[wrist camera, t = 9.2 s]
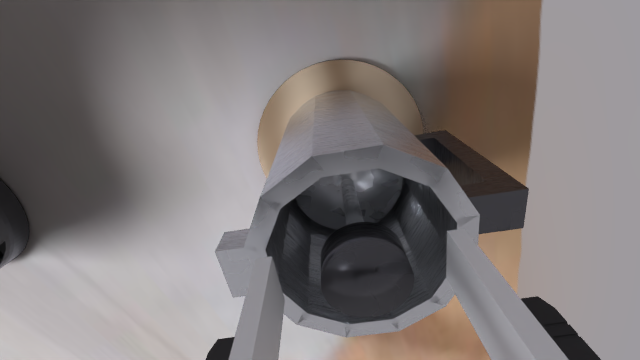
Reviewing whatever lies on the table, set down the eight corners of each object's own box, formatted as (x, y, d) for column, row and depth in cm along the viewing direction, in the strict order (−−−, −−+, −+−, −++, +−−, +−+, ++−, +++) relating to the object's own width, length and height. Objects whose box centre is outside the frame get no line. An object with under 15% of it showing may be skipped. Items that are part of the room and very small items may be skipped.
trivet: (278, 225, 33) (278, 228, 33) (238, 76, 27) (237, 77, 26) (423, 204, 32) (425, 207, 32) (419, 44, 26) (421, 44, 25)
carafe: (283, 207, 32) (252, 348, 17) (256, 104, 27) (185, 176, 13) (433, 185, 31) (536, 314, 16) (432, 73, 26) (575, 114, 12)
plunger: (304, 230, 24) (294, 355, 15) (283, 137, 21) (252, 219, 11) (402, 216, 24) (459, 336, 14) (396, 118, 21) (465, 187, 11)
